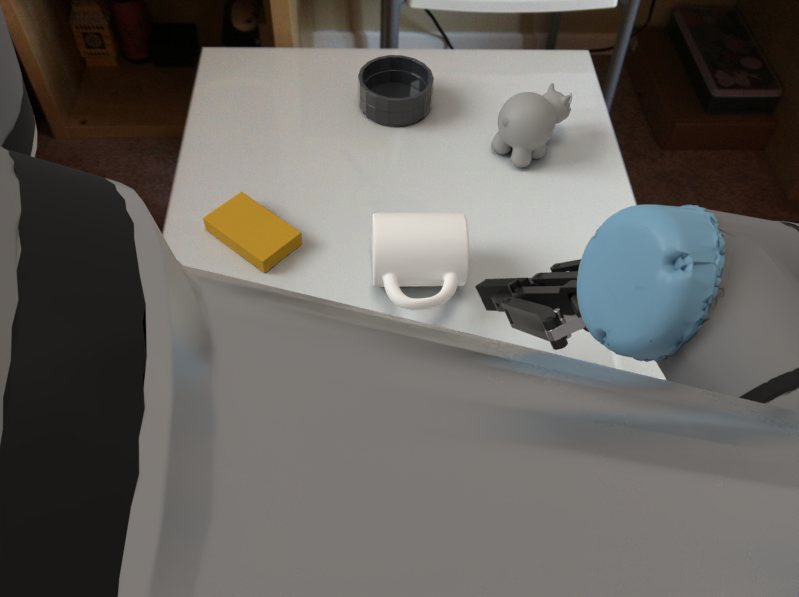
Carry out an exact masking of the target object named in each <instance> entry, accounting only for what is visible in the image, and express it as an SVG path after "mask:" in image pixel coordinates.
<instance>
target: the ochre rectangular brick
mask: <svg viewBox="0 0 799 597" xmlns="http://www.w3.org/2000/svg"><path fill="white" fill-rule="evenodd" d="M202 220H203V224H204V228H205V230H206V231H207V232H208V233H210V235H212V236H213V237H215V238H216V239H218V240H219V241H221V243H223V244H225V245H226V246H227V247H229V248H230V249H231V250H233V251H234V252H236V254H238V255H239V256H241V258H243V259H245V261H247V262H249V263H250V264H251V265H253V266H254V267H255V268H257V269H258V270H260V271H261V272H262V273H263V274H266V273H267V272H268V271H270V270H271V269H272V268H273V267H275V266H276V265H278V264H279V263H280V262H281V261H283V259H285V258H287V257H288V256H289V255H290V254H292V253H293V252H294V251H296V250H297V249H298V248H299V247H300V246H302V245H303V237H302V231H300V230H298V229H297V228H296V227H294V226H293V225H291V224H289V223H288V222H287V221H285V220H284V219H283V218H281V217H279V216H278V215H277V214H275V213H274V212H273V211H271V210H269V209H268V208H266V207H265V206H264V205H262V204H261V203H260V202H258V201H256V200H255V199H254V198H252V197H251V196H249V195H248V194H247V193H245V192H244V191H240V192H239V193H237V194H236V195H234V196H233V197H231V198H229V199H228V200H227V201H226V202H224V203H222V204H221V205H219V206H218V207H217V208H215V209H213V211H211V212H210V213H208V214H207V215H205V216H203V218H202Z"/></svg>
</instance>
